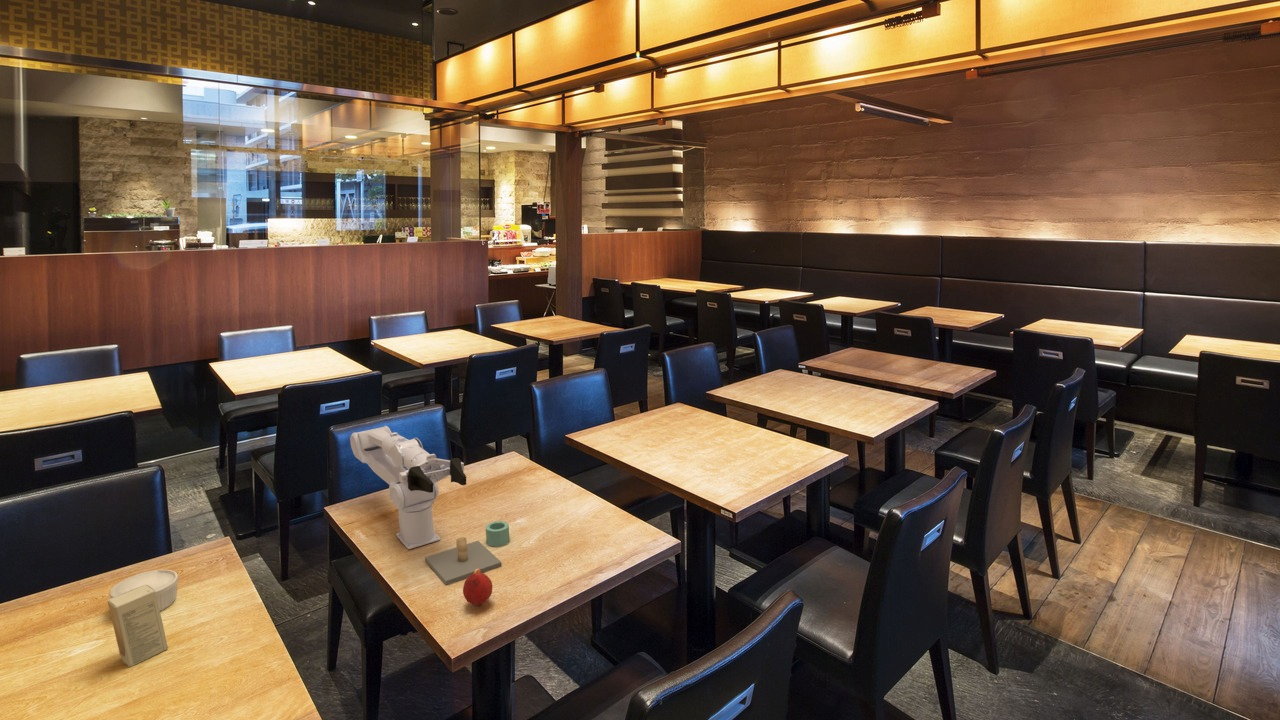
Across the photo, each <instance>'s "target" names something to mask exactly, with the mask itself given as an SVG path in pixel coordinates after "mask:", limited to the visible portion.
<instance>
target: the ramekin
mask: <svg viewBox="0 0 1280 720" xmlns="http://www.w3.org/2000/svg"><path fill="white" fill-rule="evenodd" d="M178 582H179V574H178V573H177V572H176V571H174V570H171V569H155V570H154V569H152V570H148V571H144V572H141V573H136V574H134V575H132V576H129V577H127V578H125V579H123V580H121V581H119V582H117V583H116V584H115V585H114V586H113V587H111V589H110V591H109V597H110V598H109V599H111V598H113V597H116V596H118V595H121V594H123V593H126V592H128V591H130V590H133V589H135V588H138V587H140V586H143V585H145V584H147V585H148V586H150V587H151V588H153V589H154V590H155V591H156V596H157V600H158V605H159V609H160V612H162V611H163V610H166V609H167V608H168V607H170V606H171V605H172V604H173V603H174V601H175V600H176V598H177V592H178Z"/></svg>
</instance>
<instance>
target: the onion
mask: <svg viewBox="0 0 1280 720" xmlns="http://www.w3.org/2000/svg"><path fill="white" fill-rule="evenodd" d="M480 571H481V570H480V569H475V571H474V573H473V574H472V575H470V576H469V577H468V578H466V579H465V581H464V584H463V587H462V594H463V597H464V599H465V601H467V602H468V603H469V604H471V605H473V606H477V607H480V606H482V605H483V604H484V603H486V602H487V601H488V600H489V599H490V598H491V595H492V593H493V582H492V580H491V578H489V576H488V575H487V574H485V573H484V572H483V573H480Z"/></svg>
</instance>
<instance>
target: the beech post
mask: <svg viewBox="0 0 1280 720" xmlns="http://www.w3.org/2000/svg"><path fill="white" fill-rule="evenodd" d="M467 541H468V540H467V537H464V536H461V537H458V538H457V539H456V541H455V542H456V547H457V555H458V561H459V562H465V561H467V560H468V554H467V544H468V543H467Z"/></svg>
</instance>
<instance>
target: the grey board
mask: <svg viewBox="0 0 1280 720" xmlns="http://www.w3.org/2000/svg"><path fill="white" fill-rule="evenodd" d="M467 554H468V560H467V561H465V562H459V561H458V555H457V546H455V547H453V548H450V549H447V550H443V551H440V552H438V553H433V554H431V555H428V556H425V557H424V561H425V563H426V564H427V565H428V566H429V568H431V570H432V571H433V572H434V573H435V575H436V576H438V578H439V579H440V580H441V582H443V584H444V585H445V586H448V585H450V584H454V583H457V582H459V581H462V580H466V579H467V578H468V577H469V576H470V575H472V574H473V573H474V571H475V569H480V570H481V571H480V573H483V574H484V573H486V572H490V571H491V570H494V569H497V568H500V567H503V565H502V561H501V560H500V559H499V558H498V557H496V556H495V555H494V554H493V553H492V552H491V550H489V549H488V548H487V547H486V546H485V545H483V544H482V543H481V542H480V540H475V541H472V542H468V543H467Z"/></svg>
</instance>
